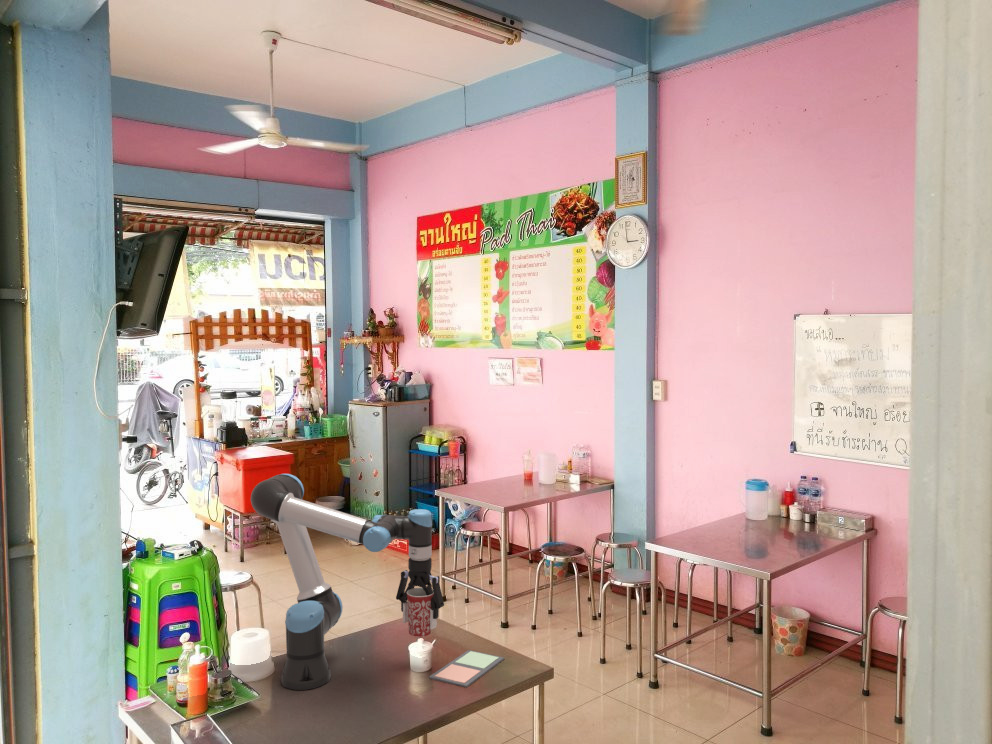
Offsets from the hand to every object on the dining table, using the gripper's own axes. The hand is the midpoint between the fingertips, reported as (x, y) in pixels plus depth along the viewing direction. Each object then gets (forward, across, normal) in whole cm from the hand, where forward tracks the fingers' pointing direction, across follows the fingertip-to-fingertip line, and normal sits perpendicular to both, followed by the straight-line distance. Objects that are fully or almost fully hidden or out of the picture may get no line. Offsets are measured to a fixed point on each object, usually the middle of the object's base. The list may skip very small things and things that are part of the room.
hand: (419, 624), depth 252 cm
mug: (+2, 0, 0) cm, 2 cm away
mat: (+14, +15, +6) cm, 21 cm away
